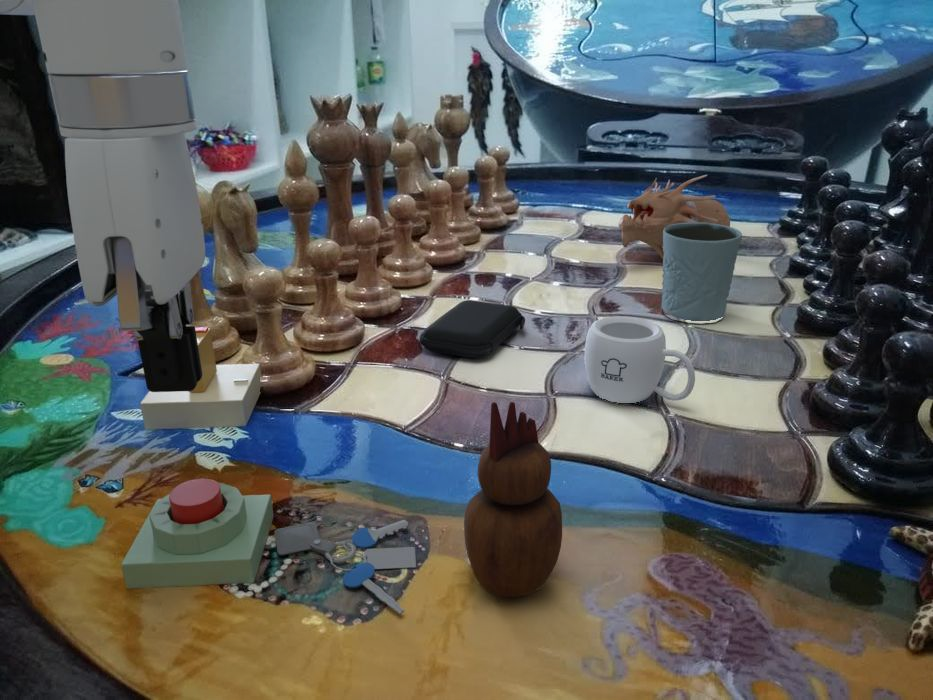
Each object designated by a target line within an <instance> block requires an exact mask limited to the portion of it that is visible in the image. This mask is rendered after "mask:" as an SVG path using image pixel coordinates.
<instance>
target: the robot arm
mask: <svg viewBox="0 0 933 700" xmlns="http://www.w3.org/2000/svg"><path fill="white" fill-rule="evenodd" d="M0 15H10V16H35V21H36V25H37V31H38V36H39V40H40V44H41V49H42V54H43V58H44V64H45V68H46V72H47V74H48V75H47V77H48V83H49V87H50V91H51V96H52V101H53V105H54V110H55V114H56V120H57V124H58V128H59V133H60V136H61V137H63V138H65V139H64V162H65V163H64V164H65V176H66V178H65V179H66V191H67V200H68V207H69V214H70V222H71V228H72V235H73V240H74V247H75V253H76V258H77V259H76V260H77V264H78V265H77V266H78V270H79V276H80V281H81V287H82V291H83V295H84V298H85V299H86V301H87V302H88V304H90V305H91V306H93V307H102V306H104V305H106V304H108V302H110V301H112V299H114V298H115V297H116V299H117V311H118V323H119V327H120V330H121V331H122V332H130V331H131V332H132V333H133V336H134V339H135V341H137V344H138V349H139V354H140V359H141V365H142V371H143V375H144V380H145V385H146V388H147V391H148V392H149V391H151V392H177V391H192V390H194V389H195V387H196V385H197V382H198V381H199V380H200V379H201V378H202V368H201V362H200V356H199V350H198V343H197V337H196V331H195V328H196V326H195V325H193V324H194V322H195V311H194V304H193V296H192V295H193V294H192V286H191V285H192V284H191V283H192V280H193V279H194V277H195V275H196V274H197V273H198V272H200V270H201V268H202V267H203V265H204V263H205V261H206V260H205V259H206V243H205V232H204V226H203V217H202V211H201V207H200V200H199V195H198V189H197V184H196V179H195V175H194V174H195V173H194V169H193V164H192V160H191V154H190V150H189V146H188V142H187V137H186V134H185V133H191V132H194V130H195V131H196V130H197V128H198V127H197V121H196V113H195V106H194V100H193V92H192V86H191V79H190V72H188V71H189V64H188V58H187V57H188V56H187V51H186V42H185V38H184V30H183V24H182V16H181V9H180V2H179V0H0Z"/></svg>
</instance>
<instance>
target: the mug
mask: <svg viewBox="0 0 933 700" xmlns="http://www.w3.org/2000/svg"><path fill="white" fill-rule="evenodd" d="M666 341H667V340H666V335H665V333H664V330H663V328H662V327H661V326H660V325H659V324H657V323H655V322H653V321H650V320H647V319H645V318H641V317H636V316H627V315H616V316H615V315H614V316H609V317H603V318H599V319H597V320H595V321H593V322H592V323H591V325H590V327H589V329H588V330H587V333H586V338H585V345H584V369H585V374H586V378H587V382H588V384H589V387H590V389H591V390H592V392H593V393H594V394H595V396H597V397H598V396H599V397H598V398H600V399H601V398H602V399H601V400H603V399H606V400H608V401H612V402H617V403H616V404H618V403H635V404H637V403H636V402H639V403H641V402H640V401H642V402H644V401H646V400H647V399H648V398H649V397H650V396H652V394H653V393H654V392H655V393H656V394H658V395H659V396H660V397H662V398H664V399H666V400H670V401H682V400H684V399H686V398H688V397H689V396H690V394H692V391H693V389H694V387H695V382H696V372H695V368H694V366H693V364H692V361H691V359H690V358H689V357H688V356H687V355H686V353H683V352H681V351H680V350H677V349H667V344H666ZM666 357H675V358H677V359H679V360H680V361H682V363H683V364H684V366H685V368H686V371H687V382H686V385H685V387H684V389H683V390H682V391H681V392H679V393H672V392H671V393H670V392H668V391H667V390H665V389H663V388H662V387H661V386H658V385H659V382H660V380H661V377H662V375H663V371H664V367H665V362H666ZM606 400H605V401H606ZM643 400H644V401H643ZM608 401H607V402H608ZM612 402H611V403H612Z"/></svg>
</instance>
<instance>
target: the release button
mask: <svg viewBox="0 0 933 700" xmlns="http://www.w3.org/2000/svg"><path fill="white" fill-rule="evenodd" d="M218 483H219V482H217V481H216V480H213V479H211V478H195V479H190V480H187V481H184V482H182V483H180V484H178V485H176V486H175V487H174V488H172V490H171V491H170V493H169V494H170V495H169V501H170V506H171V511H172V516H173V519H174V521H175V522H176V523H179V524H198V523H201V522H204V521H207V520H210V519H213V518H214V517H216V516H217V515H219V514H220V513H221V512H222V511H223V500H222V494H221V488H220V485H219V484H218Z"/></svg>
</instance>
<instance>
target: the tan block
mask: <svg viewBox="0 0 933 700" xmlns="http://www.w3.org/2000/svg"><path fill="white" fill-rule="evenodd" d="M195 331H196V337H197V343H198V350H199V356H200V362H201V368H202V378H201V379H200V380H199V381H198V382H197V385H196V387H195V389H194V390H192V391H189V392H204V391H205V390H206V388H207V386H208V385H209V383H210V382H211V380H212V378H213V377H214V375H215V374H216V372H217V369H216V365H217V364H216V363H217V362H216V358H215V356H216V355H215V351H214V350H215V349H214V344H213V337H212V331H211V328H209V326H197V327H196V326H195Z"/></svg>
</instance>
